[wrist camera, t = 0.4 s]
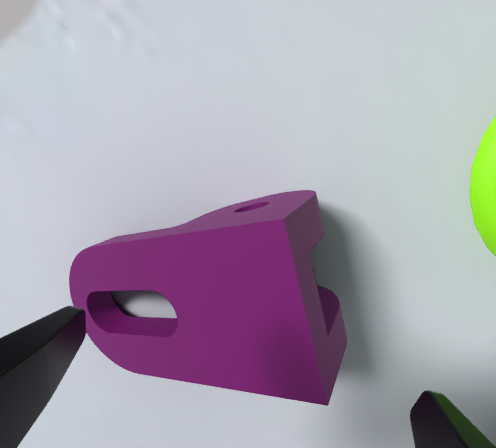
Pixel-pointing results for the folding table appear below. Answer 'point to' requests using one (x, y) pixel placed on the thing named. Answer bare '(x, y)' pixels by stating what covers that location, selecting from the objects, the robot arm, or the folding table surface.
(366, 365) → the folding table surface
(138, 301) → the folding table surface
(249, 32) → the folding table surface
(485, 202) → the wineglass
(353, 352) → the folding table surface
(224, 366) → the mounting bracket
